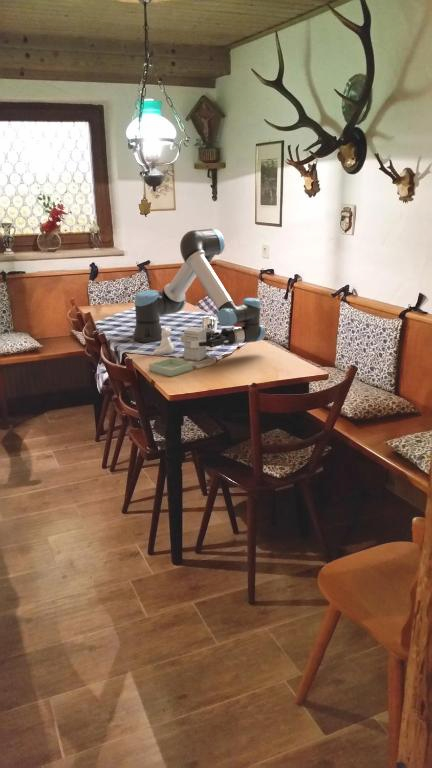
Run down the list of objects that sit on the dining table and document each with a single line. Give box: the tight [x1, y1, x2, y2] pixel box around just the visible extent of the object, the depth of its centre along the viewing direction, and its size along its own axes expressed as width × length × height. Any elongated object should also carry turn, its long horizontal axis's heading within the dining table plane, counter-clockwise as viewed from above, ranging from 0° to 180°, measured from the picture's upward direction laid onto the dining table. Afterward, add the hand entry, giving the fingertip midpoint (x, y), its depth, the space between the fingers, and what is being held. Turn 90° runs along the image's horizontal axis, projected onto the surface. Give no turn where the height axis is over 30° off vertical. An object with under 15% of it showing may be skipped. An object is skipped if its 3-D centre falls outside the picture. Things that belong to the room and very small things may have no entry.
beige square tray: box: [174, 354, 217, 370], centre depth 257 cm, size 13×13×2 cm
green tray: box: [148, 357, 194, 378], centre depth 247 cm, size 13×13×3 cm
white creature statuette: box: [153, 326, 175, 356], centre depth 272 cm, size 10×9×12 cm
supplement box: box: [183, 326, 207, 362], centre depth 255 cm, size 7×7×13 cm
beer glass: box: [201, 315, 218, 351], centre depth 277 cm, size 7×7×15 cm
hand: (185, 341), depth 252 cm, fingers closed on supplement box, 10 cm apart
